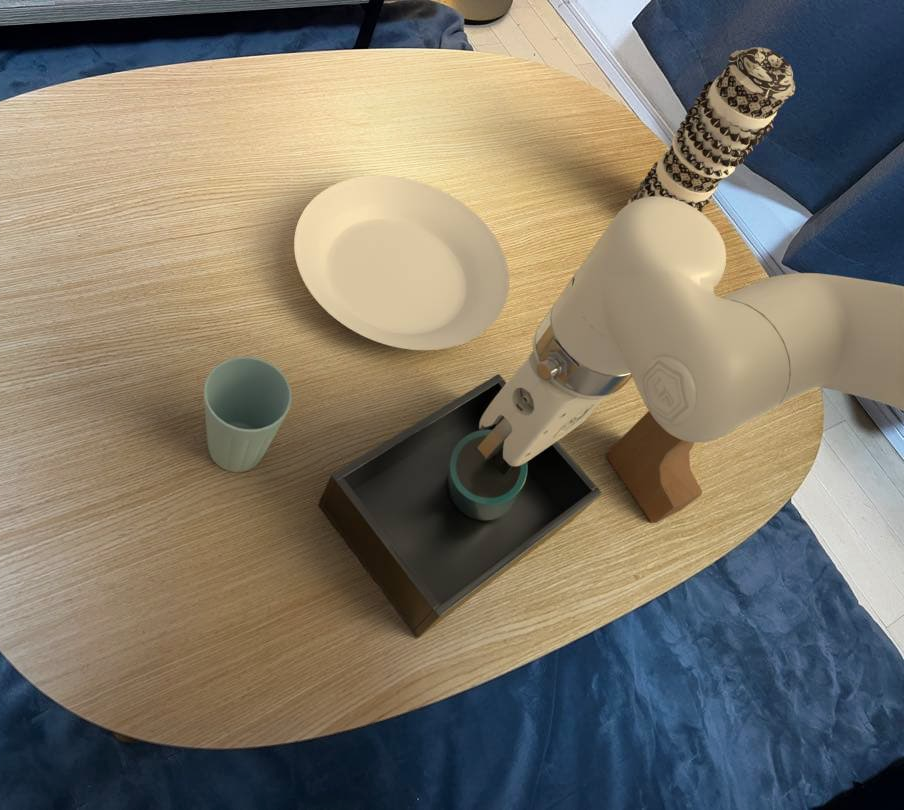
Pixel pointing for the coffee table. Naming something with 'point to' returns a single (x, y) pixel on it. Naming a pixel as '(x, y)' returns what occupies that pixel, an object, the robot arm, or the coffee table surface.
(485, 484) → the pot
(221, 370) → the cup
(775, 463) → the coffee table surface
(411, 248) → the white plate
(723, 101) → the decorative candle
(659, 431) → the wooden block
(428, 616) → the dark grey shallow box
